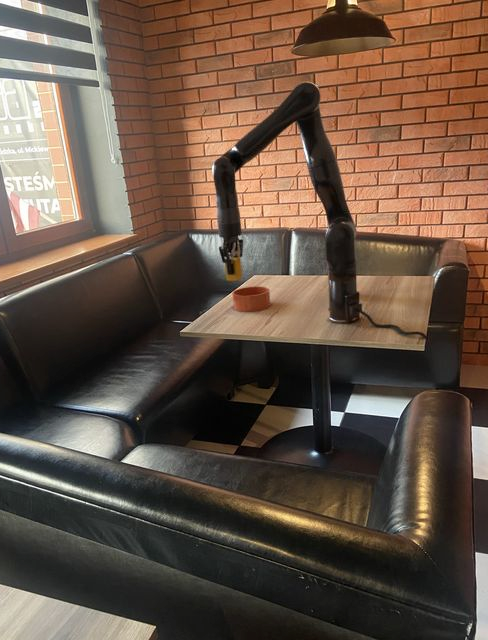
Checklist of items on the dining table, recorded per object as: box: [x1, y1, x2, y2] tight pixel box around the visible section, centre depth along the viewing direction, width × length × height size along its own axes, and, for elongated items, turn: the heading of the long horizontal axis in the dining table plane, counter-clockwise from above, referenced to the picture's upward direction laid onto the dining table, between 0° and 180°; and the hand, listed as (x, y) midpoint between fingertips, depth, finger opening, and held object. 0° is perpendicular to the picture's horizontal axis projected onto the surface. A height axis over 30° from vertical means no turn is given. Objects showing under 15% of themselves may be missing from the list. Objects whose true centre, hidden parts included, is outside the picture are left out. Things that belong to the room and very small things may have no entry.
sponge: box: [224, 257, 243, 282], centre depth 180 cm, size 4×4×7 cm
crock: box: [232, 285, 271, 313], centre depth 208 cm, size 14×14×6 cm
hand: (234, 272), depth 181 cm, fingers closed on sponge, 4 cm apart
